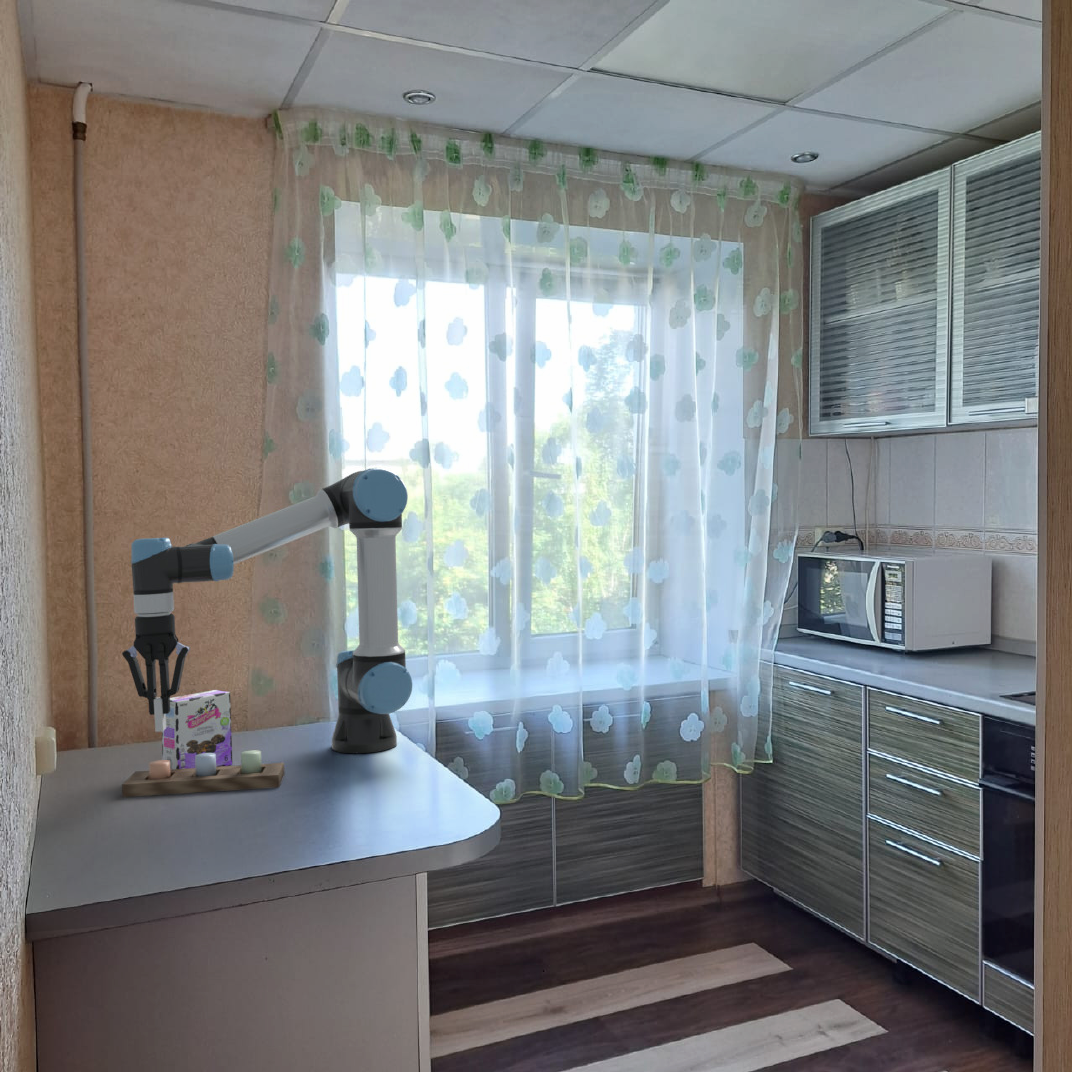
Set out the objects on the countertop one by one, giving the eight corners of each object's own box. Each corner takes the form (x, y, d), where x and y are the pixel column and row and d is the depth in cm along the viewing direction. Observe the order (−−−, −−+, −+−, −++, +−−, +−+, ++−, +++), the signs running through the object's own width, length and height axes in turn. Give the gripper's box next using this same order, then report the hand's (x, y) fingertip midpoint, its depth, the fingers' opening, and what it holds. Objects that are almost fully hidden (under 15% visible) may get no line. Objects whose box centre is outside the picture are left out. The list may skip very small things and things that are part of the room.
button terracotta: (172, 778, 200) (172, 759, 200) (168, 784, 196) (167, 764, 196) (152, 780, 199) (151, 760, 199) (147, 785, 195) (146, 765, 195)
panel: (284, 774, 206) (284, 762, 206) (278, 787, 196) (278, 774, 196) (135, 783, 202) (135, 771, 202) (122, 797, 192) (122, 784, 192)
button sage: (262, 768, 202) (262, 749, 202) (260, 773, 198) (259, 754, 198) (242, 770, 202) (242, 750, 202) (239, 775, 198) (239, 755, 198)
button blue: (217, 771, 201) (217, 752, 201) (214, 776, 197) (213, 756, 197) (197, 772, 201) (197, 753, 201) (193, 777, 197) (193, 758, 197)
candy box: (177, 779, 205) (175, 701, 204) (161, 775, 208) (159, 698, 208) (233, 764, 216) (231, 690, 215) (217, 761, 219) (215, 688, 219)
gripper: (191, 610, 202) (197, 723, 202) (125, 614, 200) (132, 728, 200) (184, 614, 194) (190, 731, 195) (115, 618, 192) (122, 736, 193)
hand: (160, 729), depth 198 cm, fingers closed
